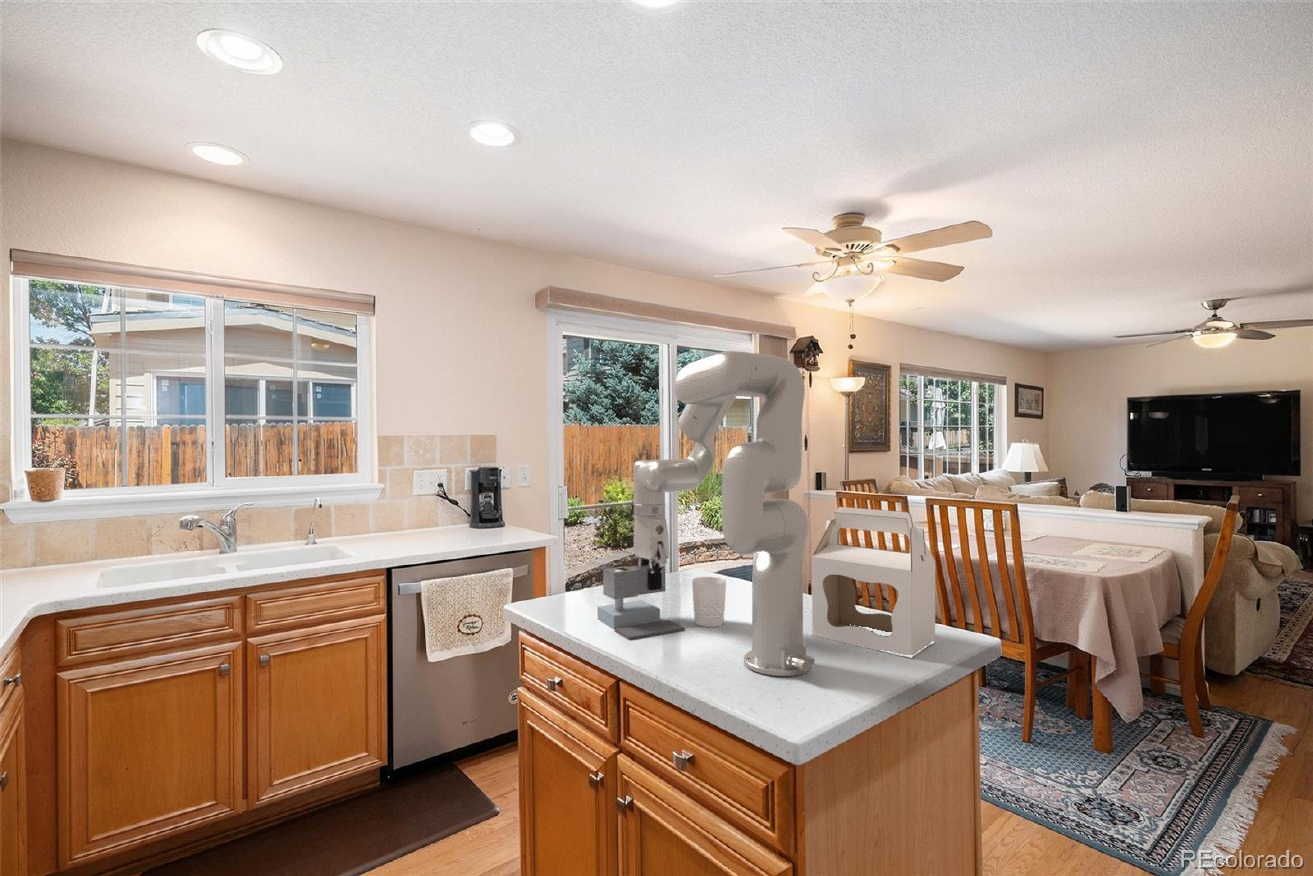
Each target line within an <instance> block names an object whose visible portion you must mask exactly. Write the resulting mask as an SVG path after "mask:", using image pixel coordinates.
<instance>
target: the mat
mask: <svg viewBox="0 0 1313 876" xmlns="http://www.w3.org/2000/svg"><path fill="white" fill-rule="evenodd" d="M685 630H686V629H685V627H684V626H683V625H681V624H678V623H677V622H674V621H672V620H671V619H664V620H660V621H658V622H652V623H646V624H639V625H633V626H627V627H621V628H615V629H614V632H615V633H617V634H619V635H620V636H621V637H624V638H625V639H627V640H629V641H630V640H631V641H632V640H638V639H642V638H647V637H648V638H649V637H653V636H654V637H655V636H660V635H666V634H671V633H677V632H682V631H683V632H684V631H685Z"/></svg>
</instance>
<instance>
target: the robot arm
mask: <svg viewBox="0 0 1313 876" xmlns="http://www.w3.org/2000/svg"><path fill="white" fill-rule="evenodd" d="M804 380H805V379H804V376H803V373H801V371H800V369H799V367H798V366H797V365H796V364H795V363H793V362H792V361H790V360H788V359H786V358H784V357H781V356H776V355H772V354H767V353H766V354H765V353H758V352H756V353H755V352H746V351H738V350H737V351H735V350H726V351H721V352H717V353H714V354H712V355H709V356H706V357H703V358H701V359H697V360H694V361H692V362H689V363H688V364H686V365H684V366H683V367H682V368H681V369H680V370H679V372H678V373H677V375H676V376H675V380H674V385H673V387H674V388H673V389H674V394H675V397H676V398H677V399H678V401H680V402H681V403H683V404H685V406H684V408H683V410H682V412H681V414H680V415H679V417H678V420H677V425H678V428H679V430H680V431H681V432H682V434H683V435H684V436H686V438H688V439H689V440H691V441H693V442H695V443H694V446H693V448H692V449H691V452H690V453H689V454H688V456H687V457H686V458H675V459H674V458H669V459H642V460H637V461H635V462H634V463H633V469H632V470H633V473H632V474H633V518H634V525H633V553H634V556H635V558H636V561H637V563H638V564H637V566H641V565H650V573H649V590H658V589H661V588H662V575H661V573H662V571H663V569H662V568H663V567H664V566H666V564H667V562H668V561H667V560H668V559H669V557H670V543H669V532H668V531H669V530H668V524H667V519H666V493H672V492H687V491H693V490H695V489H697V488H698V487H699V486H700V485H701V484H702V483H703V482H704V481H705V479H706V477H707V476H708V474H709V473H710V472H711V469H712V467H713V465H714V462H715V456H716V446H715V445H716V444H715V441H714V436H715V434H716V432H717V431H718V429H719V427H720V425H721V423H722V422H723V420H724V419H725V417H726V415H727V413H728V411H729V410H730V409H731V407H732V405H733V403H734V401H735V400H736V398H737V397H749V398H750V397H751V398H763V399H764V400H765V401H764V402H763V403H762V405H761V407H760V409H759V411H758V413H757V417H756V436H755V437H756V438H755V441H747V442H742V443H739V444H736V445H735V446H734V447H732V448H731V449H730V450H729V452H728V453H727V455H726V457H725V460H724V462H723V465H722V473H721V476H722V477H721V479H722V480H721V528H722V535H723V537H724V540H725V543H726V545H727V546H728V548H730V550H732V551H733V552H735V553H737V554H740V555H750V554H751V555H752V554H756V556H755V559H754V561H753V566H752V576H751V578H752V582H751V584H752V585H751V589H752V590H751V591H752V592H751V607H752V608H751V613H752V614H751V650H750V651H748V652H746V653H745V654H744V655H743V663H744V665H745V666H746V667H747V669H750V670H751V671H753V672H755V673H759V674H763V675H767V676H772V677H773V676H776V677H792V676H794V677H795V676H799V675H803V674H805V673H807V672H809V671H810V670H811V668H812V666H813V665H814V664H815V662H816V661H815V658H814V657H812V656H810V655H807V645H806V644H805V645H804V593H803V592H804V563H805V562H804V560H805V559H804V558H805V552H806V545H807V540H808V535H809V520H808V516H807V513H806V511H805V510H804V508H803V507H802V506H801V505H800V504H799V503H798V502H797V501H794V500H792V499H789V498H778V497H777V498H768V499H764V498H765V497H764V496H765V494H769V493H780V492H786V491H789V490H792V489H793V488H795V487H796V486H797V485H798V484H799V482H800V480H801V475H802V463H803V462H802V457H803V456H802V455H803V454H802V451H803V449H802V448H803V445H802V444H803V426H802V425H803V424H802V423H803V411H804V403H805V402H804V401H805V394H806V391H805V390H806V389H805V387H806V386H805V381H804ZM656 558H657V559H656ZM654 564H655V565H654Z"/></svg>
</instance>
